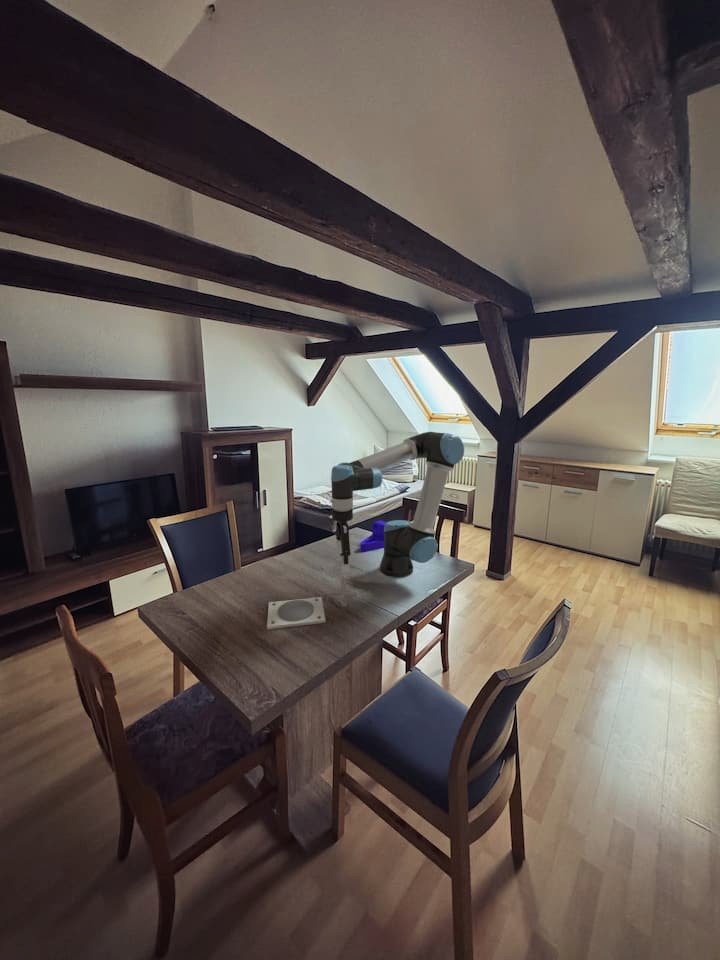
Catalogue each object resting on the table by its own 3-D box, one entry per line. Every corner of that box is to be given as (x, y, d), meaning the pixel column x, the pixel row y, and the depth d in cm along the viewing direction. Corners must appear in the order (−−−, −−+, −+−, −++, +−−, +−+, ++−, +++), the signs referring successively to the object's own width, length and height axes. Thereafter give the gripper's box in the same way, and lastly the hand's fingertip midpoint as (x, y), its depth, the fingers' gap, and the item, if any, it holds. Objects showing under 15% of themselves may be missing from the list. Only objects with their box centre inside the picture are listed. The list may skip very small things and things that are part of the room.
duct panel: (321, 599, 149) (321, 595, 148) (325, 622, 133) (325, 618, 133) (269, 604, 145) (268, 600, 145) (267, 629, 130) (266, 625, 129)
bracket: (377, 539, 210) (378, 519, 208) (392, 545, 203) (393, 524, 200) (354, 548, 198) (354, 527, 196) (368, 554, 191) (369, 532, 188)
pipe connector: (353, 613, 138) (353, 588, 136) (327, 611, 140) (326, 586, 138) (359, 599, 148) (359, 576, 146) (334, 597, 150) (334, 574, 148)
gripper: (328, 500, 147) (328, 551, 152) (336, 519, 123) (337, 580, 128) (347, 499, 149) (347, 549, 153) (359, 518, 125) (358, 578, 129)
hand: (342, 563), depth 140 cm, fingers open, 13 cm apart
